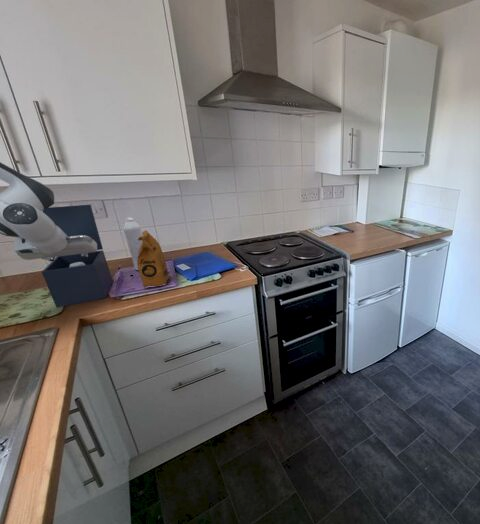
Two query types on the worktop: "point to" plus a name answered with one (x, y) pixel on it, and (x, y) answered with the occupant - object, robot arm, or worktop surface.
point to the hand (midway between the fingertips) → (69, 257)
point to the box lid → (75, 221)
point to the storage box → (78, 278)
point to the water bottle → (133, 238)
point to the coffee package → (151, 262)
